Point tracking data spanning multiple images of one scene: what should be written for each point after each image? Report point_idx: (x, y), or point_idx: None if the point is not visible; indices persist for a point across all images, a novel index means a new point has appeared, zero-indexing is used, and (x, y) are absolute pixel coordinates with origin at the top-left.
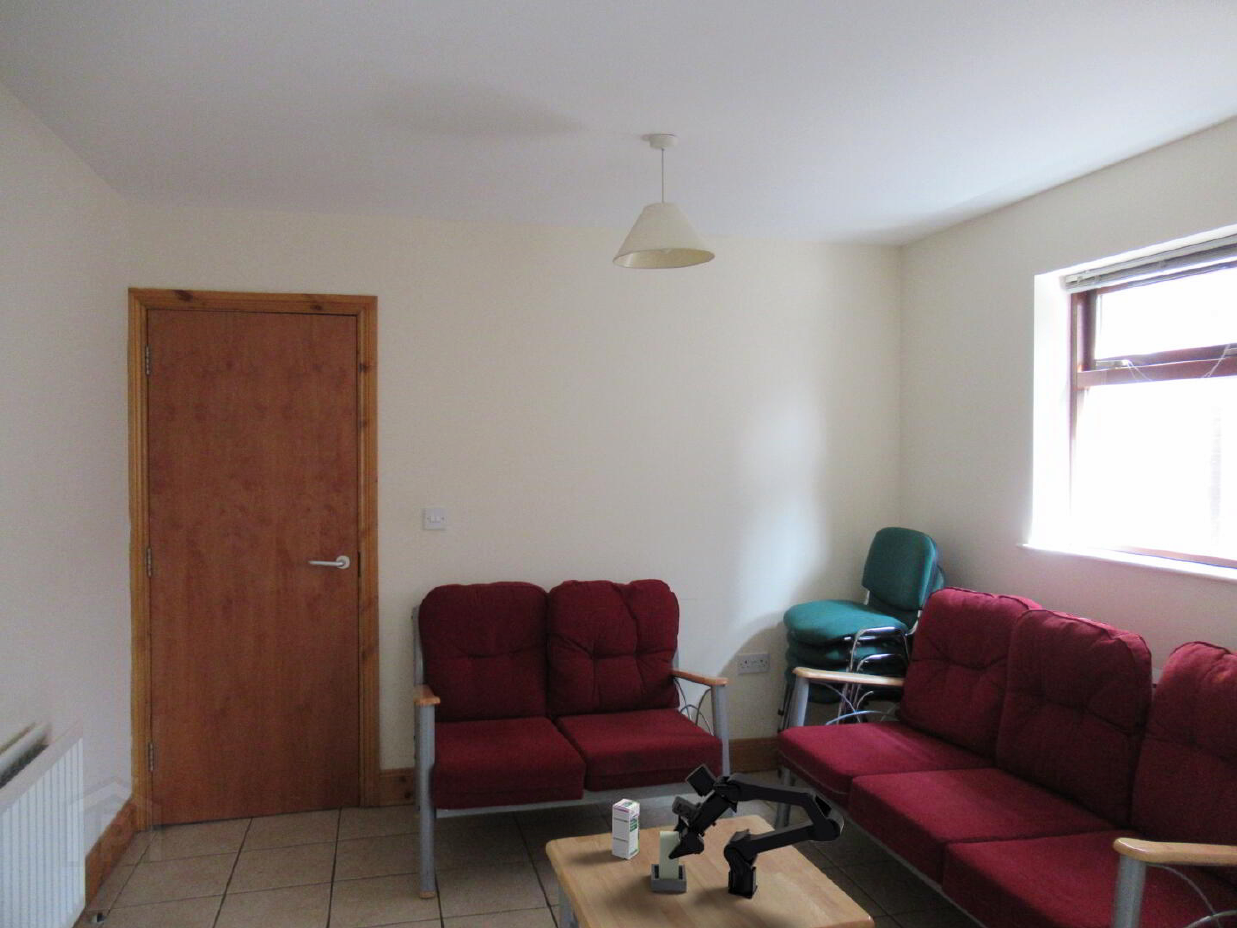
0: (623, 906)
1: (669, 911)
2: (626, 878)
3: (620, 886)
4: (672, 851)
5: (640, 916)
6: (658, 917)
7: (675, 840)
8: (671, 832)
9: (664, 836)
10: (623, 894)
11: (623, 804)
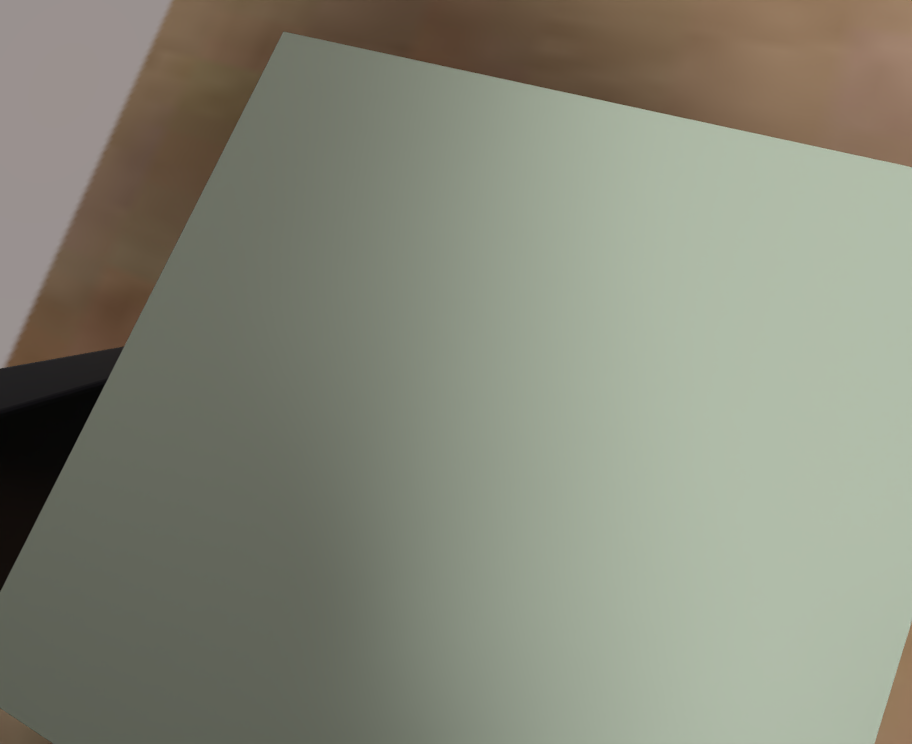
0: (330, 11)
1: (113, 348)
2: (852, 134)
3: (682, 45)
4: (32, 370)
5: (150, 104)
6: (79, 231)
7: (57, 531)
8: (712, 683)
9: (409, 218)
10: (520, 44)
11: None
